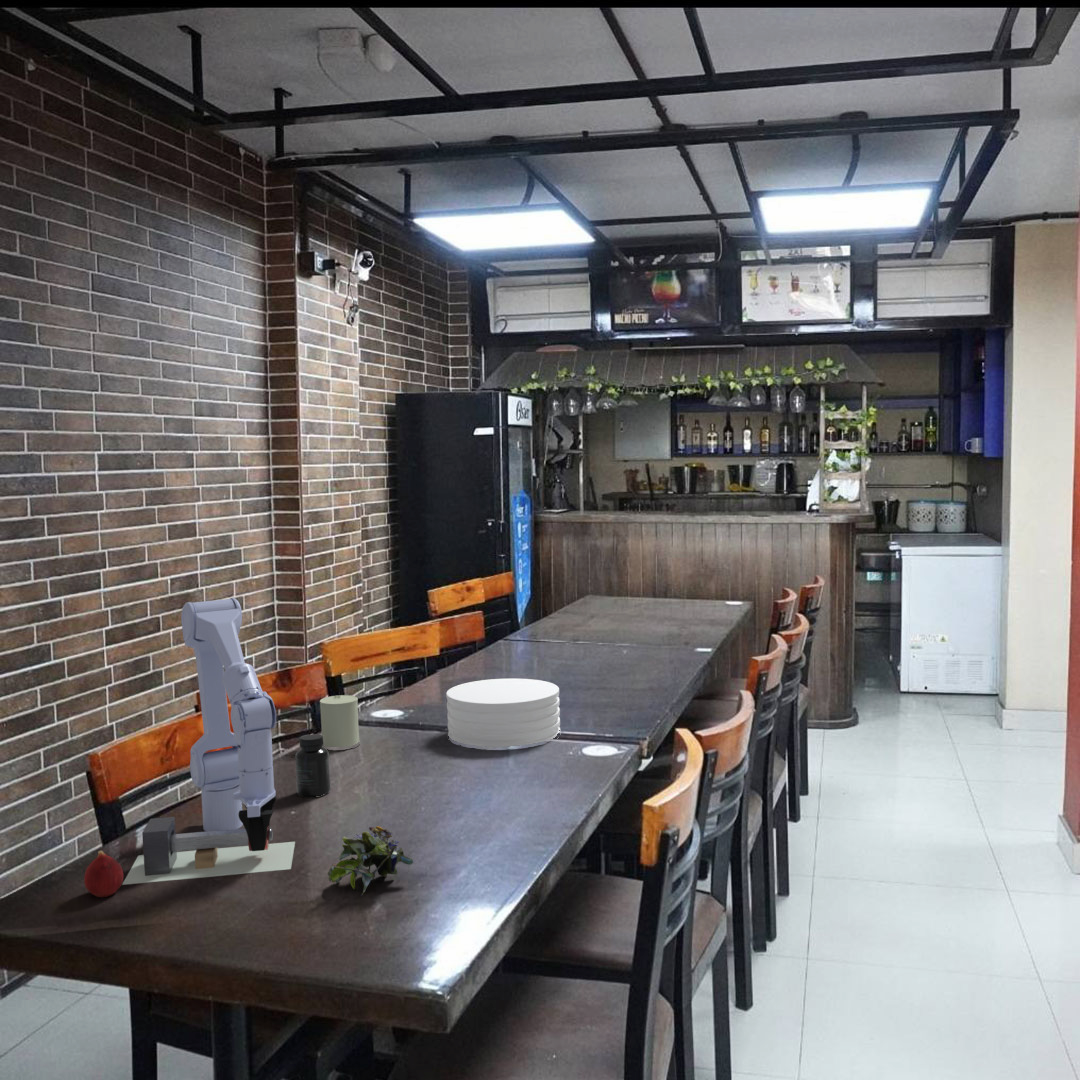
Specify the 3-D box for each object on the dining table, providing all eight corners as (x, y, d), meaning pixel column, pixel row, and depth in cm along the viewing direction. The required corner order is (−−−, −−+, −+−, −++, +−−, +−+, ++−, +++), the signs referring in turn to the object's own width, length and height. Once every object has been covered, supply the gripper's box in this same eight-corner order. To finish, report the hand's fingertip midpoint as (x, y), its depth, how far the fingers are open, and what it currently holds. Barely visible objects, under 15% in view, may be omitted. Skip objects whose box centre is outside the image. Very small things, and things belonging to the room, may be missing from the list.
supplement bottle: (314, 786, 226) (312, 731, 225) (337, 791, 222) (334, 735, 221) (290, 795, 220) (287, 738, 219) (312, 800, 216) (310, 743, 215)
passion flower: (383, 908, 175) (424, 849, 176) (363, 925, 165) (406, 862, 165) (331, 867, 178) (371, 808, 178) (307, 881, 167) (350, 818, 167)
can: (356, 739, 263) (354, 691, 262) (362, 748, 254) (360, 699, 253) (319, 743, 260) (317, 695, 259) (324, 752, 251) (321, 703, 250)
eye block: (152, 860, 183) (150, 818, 182) (176, 858, 184) (174, 816, 183) (144, 875, 176) (142, 832, 175) (169, 873, 177) (167, 830, 176)
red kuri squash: (129, 891, 172) (126, 843, 172) (117, 906, 167) (113, 857, 166) (93, 892, 172) (90, 845, 172) (79, 907, 166) (76, 858, 166)
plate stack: (582, 737, 259) (581, 691, 258) (485, 758, 243) (483, 709, 242) (520, 715, 282) (519, 673, 281) (428, 733, 266) (426, 689, 266)
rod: (149, 854, 182) (148, 825, 181) (274, 843, 185) (272, 815, 185) (143, 864, 177) (142, 836, 176) (271, 853, 180) (270, 825, 180)
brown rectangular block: (199, 858, 183) (199, 844, 183) (217, 856, 184) (216, 842, 184) (195, 868, 178) (194, 854, 178) (213, 867, 179) (213, 853, 179)
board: (138, 861, 185) (138, 855, 185) (295, 847, 190) (295, 841, 190) (122, 890, 173) (122, 884, 173) (291, 874, 177) (290, 868, 177)
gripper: (236, 757, 188) (240, 831, 189) (226, 781, 174) (231, 862, 175) (277, 754, 189) (281, 828, 190) (270, 778, 175) (274, 858, 176)
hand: (259, 844), depth 182 cm, fingers closed on rod, 5 cm apart
